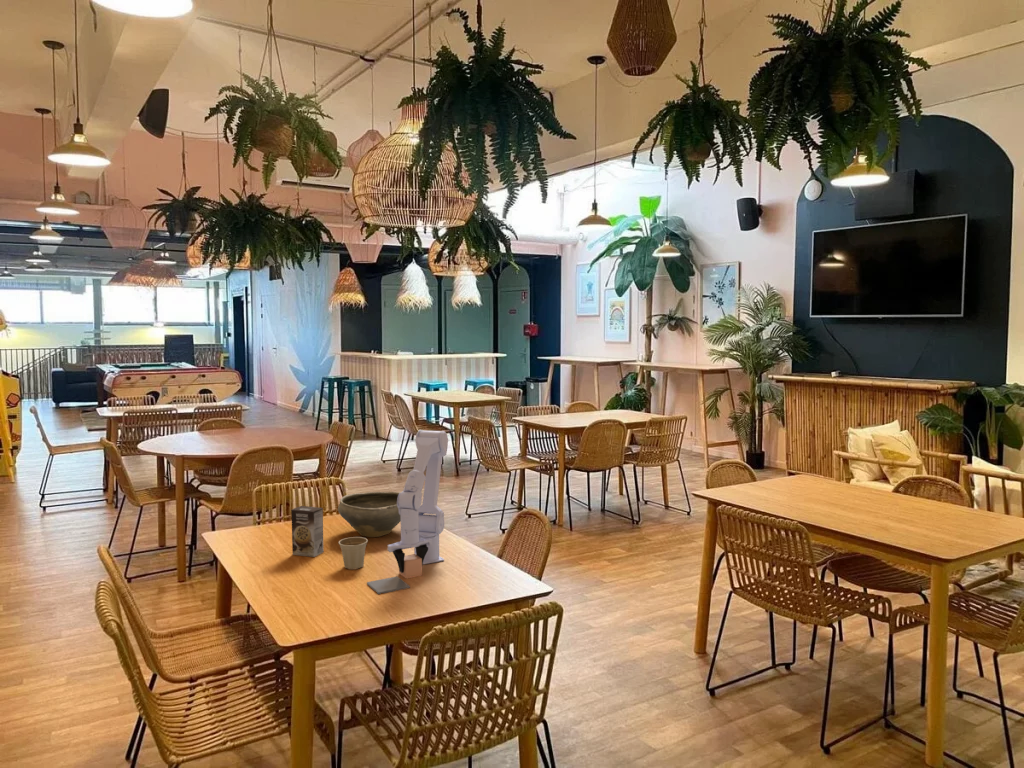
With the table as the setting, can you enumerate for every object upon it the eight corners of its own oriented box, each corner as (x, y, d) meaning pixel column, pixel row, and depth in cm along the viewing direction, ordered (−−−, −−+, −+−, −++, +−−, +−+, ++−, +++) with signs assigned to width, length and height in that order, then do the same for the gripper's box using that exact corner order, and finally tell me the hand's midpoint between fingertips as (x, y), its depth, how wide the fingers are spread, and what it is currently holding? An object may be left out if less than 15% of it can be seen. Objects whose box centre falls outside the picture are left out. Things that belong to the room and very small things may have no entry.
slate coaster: (366, 584, 226) (366, 582, 226) (397, 578, 231) (397, 576, 231) (378, 594, 217) (378, 592, 217) (409, 587, 222) (409, 585, 222)
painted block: (399, 573, 235) (398, 556, 235) (415, 570, 238) (414, 553, 238) (406, 578, 230) (405, 561, 230) (422, 575, 233) (421, 558, 233)
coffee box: (291, 555, 254) (290, 509, 253) (302, 549, 261) (300, 505, 259) (314, 557, 252) (313, 511, 250) (324, 551, 258) (323, 506, 257)
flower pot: (345, 573, 236) (344, 547, 235) (335, 565, 243) (334, 540, 243) (372, 567, 241) (372, 542, 240) (361, 560, 249) (361, 535, 248)
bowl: (325, 533, 281) (324, 497, 280) (386, 520, 300) (385, 486, 299) (363, 548, 261) (362, 509, 260) (426, 533, 279) (425, 496, 278)
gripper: (393, 535, 226) (394, 577, 227) (435, 528, 233) (436, 569, 234) (384, 529, 232) (385, 571, 233) (426, 522, 239) (427, 563, 240)
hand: (410, 570), depth 234 cm, fingers closed on painted block, 5 cm apart
